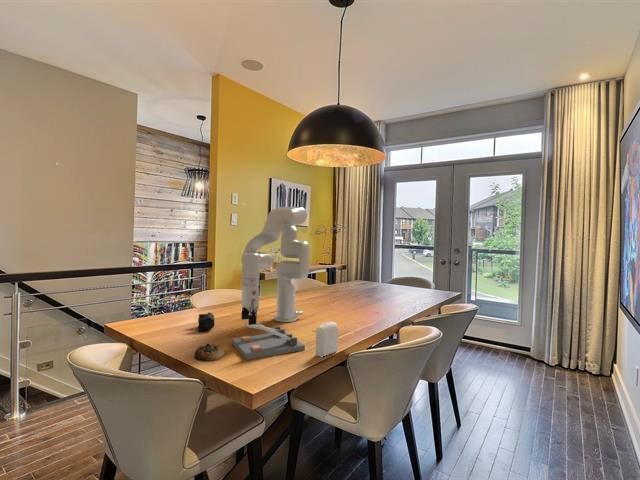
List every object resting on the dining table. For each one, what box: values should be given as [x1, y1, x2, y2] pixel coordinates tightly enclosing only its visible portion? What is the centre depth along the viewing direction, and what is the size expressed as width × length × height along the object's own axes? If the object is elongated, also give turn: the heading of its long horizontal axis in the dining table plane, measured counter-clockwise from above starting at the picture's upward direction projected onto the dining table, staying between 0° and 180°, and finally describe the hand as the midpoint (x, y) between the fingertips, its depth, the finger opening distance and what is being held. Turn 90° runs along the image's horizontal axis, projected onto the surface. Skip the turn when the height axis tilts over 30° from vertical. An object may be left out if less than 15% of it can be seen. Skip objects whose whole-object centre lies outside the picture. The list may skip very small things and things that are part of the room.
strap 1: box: [244, 322, 281, 332], centre depth 143 cm, size 17×3×2 cm, turn 121°
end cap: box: [197, 312, 215, 333], centre depth 159 cm, size 10×7×7 cm
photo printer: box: [315, 321, 339, 358], centre depth 132 cm, size 10×4×12 cm, turn 140°
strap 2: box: [256, 323, 293, 342], centre depth 133 cm, size 17×3×2 cm, turn 121°
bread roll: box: [194, 343, 225, 362], centre depth 126 cm, size 11×11×5 cm
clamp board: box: [231, 325, 306, 361], centre depth 137 cm, size 24×20×5 cm
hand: (248, 321), depth 143 cm, fingers open, 9 cm apart
